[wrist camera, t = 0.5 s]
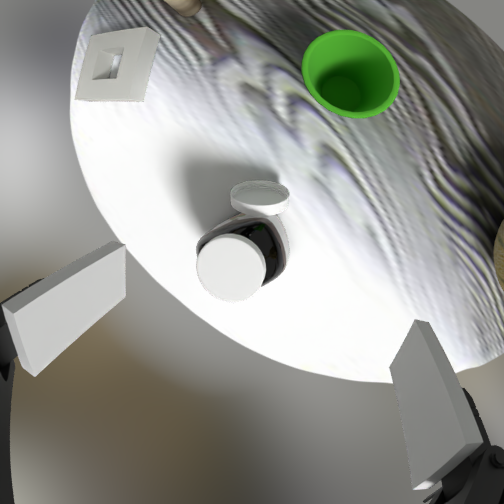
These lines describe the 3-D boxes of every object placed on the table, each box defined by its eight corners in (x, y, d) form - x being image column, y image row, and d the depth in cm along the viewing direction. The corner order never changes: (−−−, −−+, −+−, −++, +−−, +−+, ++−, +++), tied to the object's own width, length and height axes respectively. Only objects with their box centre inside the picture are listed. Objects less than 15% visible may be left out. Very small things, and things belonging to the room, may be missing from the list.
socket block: (105, 41, 33) (91, 35, 29) (160, 35, 32) (147, 26, 28) (90, 101, 37) (74, 99, 33) (143, 102, 36) (128, 98, 32)
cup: (374, 67, 28) (396, 36, 18) (375, 133, 31) (401, 124, 21) (304, 60, 30) (300, 25, 20) (304, 126, 33) (301, 113, 23)
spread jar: (229, 274, 41) (200, 315, 30) (199, 199, 39) (157, 216, 28) (311, 250, 38) (310, 288, 27) (282, 167, 35) (270, 171, 24)
